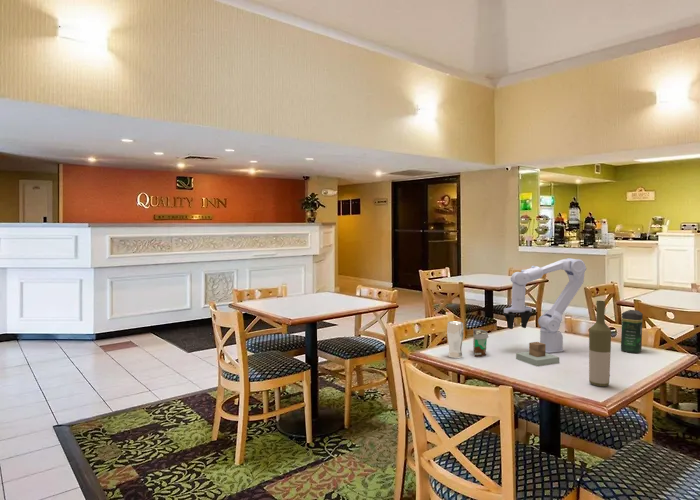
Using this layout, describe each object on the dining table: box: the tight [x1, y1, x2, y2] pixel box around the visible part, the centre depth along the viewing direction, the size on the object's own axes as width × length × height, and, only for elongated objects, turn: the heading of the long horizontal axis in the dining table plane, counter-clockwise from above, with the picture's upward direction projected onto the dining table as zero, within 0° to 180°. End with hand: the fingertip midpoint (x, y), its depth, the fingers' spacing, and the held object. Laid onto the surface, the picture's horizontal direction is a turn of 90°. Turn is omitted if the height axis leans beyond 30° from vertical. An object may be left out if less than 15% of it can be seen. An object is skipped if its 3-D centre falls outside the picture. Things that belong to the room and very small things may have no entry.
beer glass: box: [446, 320, 464, 359], centre depth 206 cm, size 7×7×15 cm
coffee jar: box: [620, 309, 644, 354], centre depth 215 cm, size 10×8×19 cm
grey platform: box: [515, 351, 560, 367], centre depth 200 cm, size 12×12×3 cm
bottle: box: [588, 300, 612, 387], centre depth 169 cm, size 7×7×30 cm
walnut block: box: [528, 341, 546, 357], centre depth 199 cm, size 4×4×5 cm
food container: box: [472, 328, 489, 358], centre depth 211 cm, size 12×6×10 cm, turn 168°
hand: (517, 328), depth 216 cm, fingers open, 7 cm apart
